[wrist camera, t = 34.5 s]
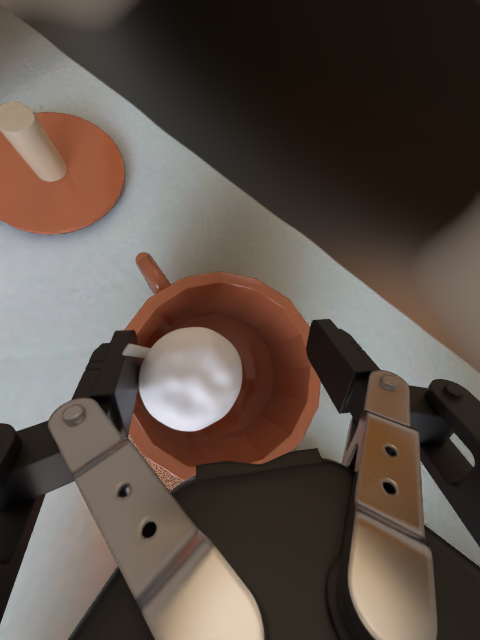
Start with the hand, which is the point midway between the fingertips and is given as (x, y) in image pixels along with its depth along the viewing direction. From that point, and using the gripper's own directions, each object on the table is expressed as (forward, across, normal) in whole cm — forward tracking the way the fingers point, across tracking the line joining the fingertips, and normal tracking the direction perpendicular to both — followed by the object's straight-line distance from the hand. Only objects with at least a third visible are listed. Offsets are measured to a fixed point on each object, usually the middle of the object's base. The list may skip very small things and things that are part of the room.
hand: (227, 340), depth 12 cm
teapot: (+9, 0, +11) cm, 14 cm away
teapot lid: (+24, +15, -5) cm, 28 cm away
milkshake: (+6, +3, +5) cm, 9 cm away
